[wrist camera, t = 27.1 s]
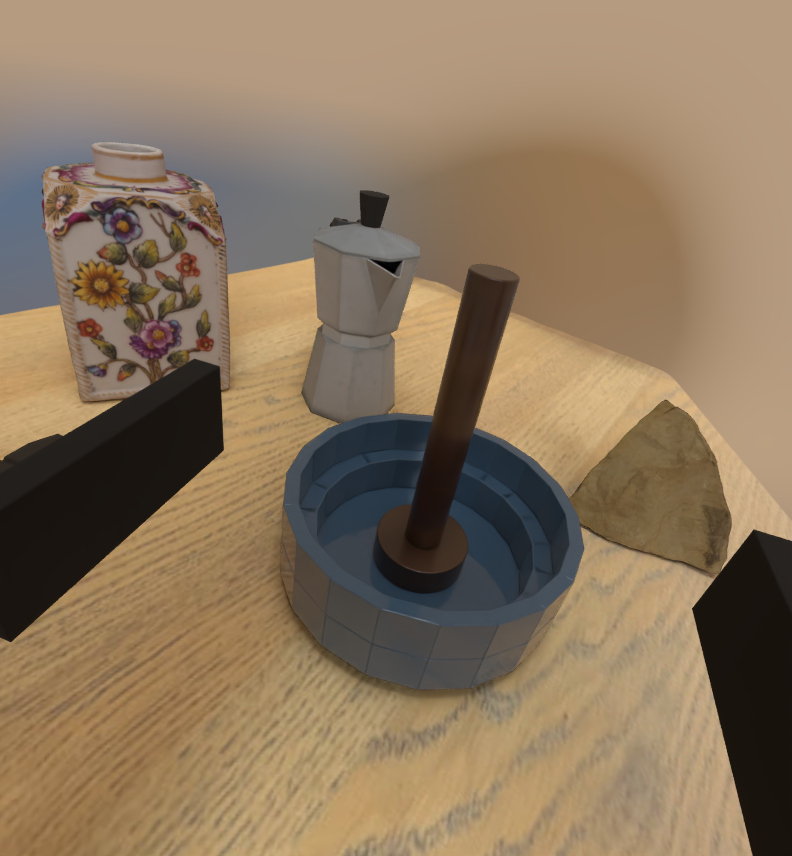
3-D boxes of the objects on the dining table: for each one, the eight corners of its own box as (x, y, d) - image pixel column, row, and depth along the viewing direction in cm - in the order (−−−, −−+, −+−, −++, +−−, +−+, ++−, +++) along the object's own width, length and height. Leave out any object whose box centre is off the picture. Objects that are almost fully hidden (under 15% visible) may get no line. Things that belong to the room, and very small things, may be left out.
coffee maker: (418, 432, 44) (467, 218, 34) (321, 443, 40) (344, 207, 30) (361, 355, 54) (386, 176, 45) (282, 358, 51) (289, 164, 41)
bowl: (595, 590, 32) (634, 524, 28) (413, 777, 21) (443, 706, 18) (416, 454, 41) (431, 392, 38) (228, 538, 30) (226, 462, 27)
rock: (770, 537, 35) (658, 444, 41) (813, 493, 28) (672, 388, 34) (650, 627, 35) (555, 521, 41) (665, 605, 28) (547, 481, 34)
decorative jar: (232, 392, 44) (227, 170, 34) (80, 407, 39) (21, 148, 29) (209, 335, 53) (199, 143, 43) (81, 341, 47) (36, 123, 37)
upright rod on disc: (479, 565, 31) (584, 287, 21) (417, 610, 27) (508, 303, 18) (417, 511, 34) (484, 248, 24) (354, 547, 31) (402, 255, 21)
